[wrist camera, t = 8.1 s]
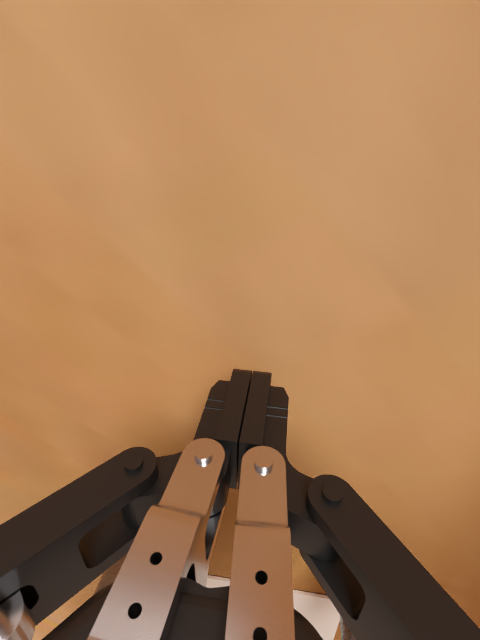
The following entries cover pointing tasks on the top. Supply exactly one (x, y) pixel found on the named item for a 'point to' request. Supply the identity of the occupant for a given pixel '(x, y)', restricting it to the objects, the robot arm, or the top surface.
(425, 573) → the robot arm
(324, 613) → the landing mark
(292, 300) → the top surface
